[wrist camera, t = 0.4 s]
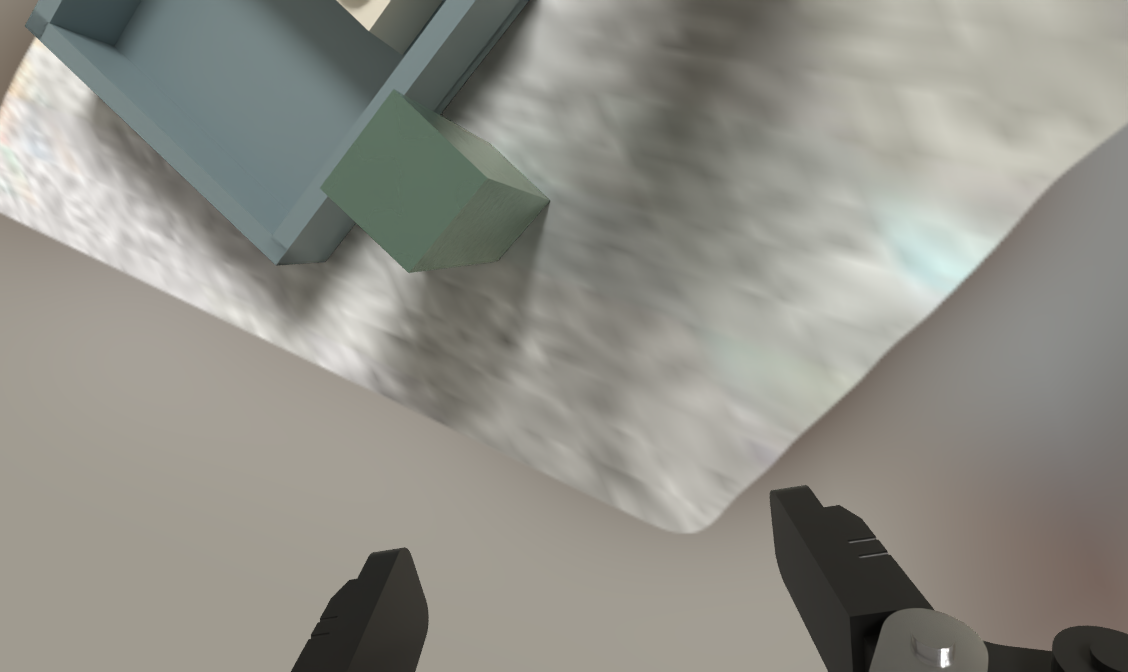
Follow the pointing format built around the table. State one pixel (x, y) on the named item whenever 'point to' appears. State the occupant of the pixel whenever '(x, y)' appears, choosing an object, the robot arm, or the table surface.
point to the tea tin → (431, 189)
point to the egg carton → (392, 18)
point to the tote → (262, 93)
